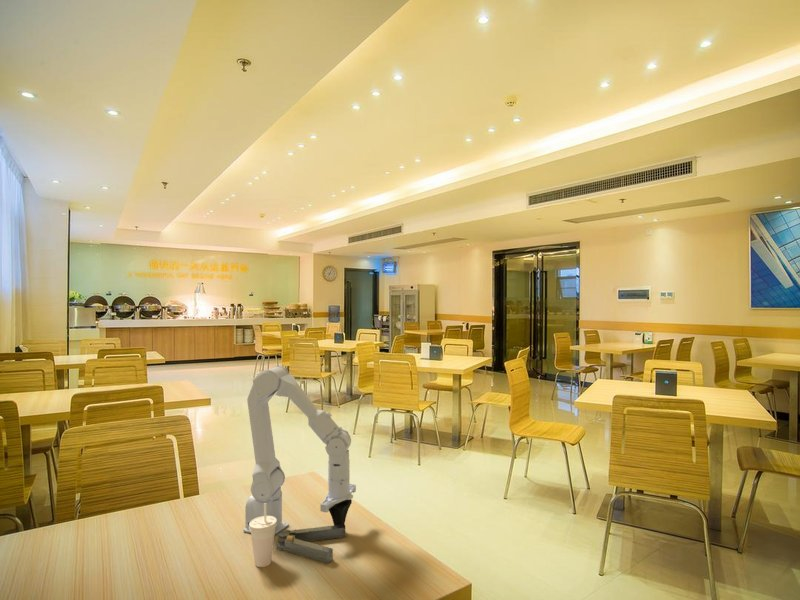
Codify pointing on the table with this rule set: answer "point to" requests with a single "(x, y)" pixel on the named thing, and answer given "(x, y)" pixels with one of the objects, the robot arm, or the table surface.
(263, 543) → the smoothie
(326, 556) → the tongs base
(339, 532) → the bar
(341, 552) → the table surface
